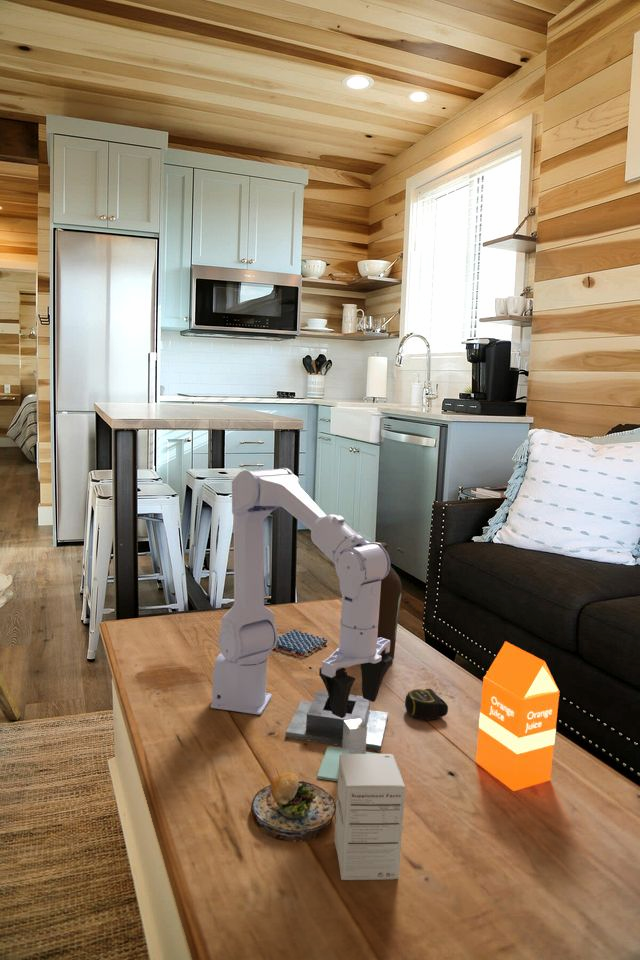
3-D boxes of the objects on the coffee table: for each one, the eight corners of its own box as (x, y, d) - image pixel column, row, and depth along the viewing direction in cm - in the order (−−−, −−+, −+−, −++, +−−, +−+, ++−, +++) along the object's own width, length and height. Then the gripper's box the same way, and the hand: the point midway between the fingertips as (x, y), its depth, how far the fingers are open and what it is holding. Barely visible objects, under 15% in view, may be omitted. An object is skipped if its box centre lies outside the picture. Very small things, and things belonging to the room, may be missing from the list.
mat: (317, 778, 107) (317, 775, 107) (327, 748, 116) (327, 746, 116) (376, 787, 105) (376, 784, 105) (382, 756, 114) (382, 754, 114)
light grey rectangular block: (347, 771, 108) (350, 729, 107) (341, 762, 111) (343, 720, 110) (364, 769, 109) (367, 727, 108) (357, 760, 112) (360, 718, 111)
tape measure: (448, 721, 127) (450, 702, 127) (413, 725, 125) (415, 705, 125) (431, 704, 134) (433, 685, 133) (398, 707, 132) (400, 688, 131)
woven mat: (264, 649, 157) (265, 640, 157) (292, 636, 166) (292, 628, 166) (303, 661, 152) (304, 652, 151) (329, 647, 161) (330, 638, 160)
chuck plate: (285, 737, 119) (286, 714, 118) (301, 705, 130) (302, 685, 130) (380, 751, 116) (381, 728, 115) (387, 717, 127) (389, 696, 127)
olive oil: (356, 664, 150) (363, 550, 147) (343, 645, 161) (350, 538, 157) (403, 662, 153) (411, 549, 149) (388, 643, 163) (395, 538, 159)
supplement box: (333, 842, 93) (338, 752, 91) (388, 841, 93) (395, 752, 91) (339, 882, 85) (345, 785, 84) (399, 881, 86) (406, 785, 84)
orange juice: (513, 791, 106) (525, 665, 103) (474, 762, 114) (485, 643, 111) (551, 780, 110) (564, 657, 107) (511, 752, 118) (522, 637, 115)
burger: (327, 850, 91) (330, 797, 90) (239, 835, 93) (241, 783, 92) (341, 797, 103) (344, 749, 102) (263, 785, 105) (265, 738, 104)
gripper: (350, 642, 99) (344, 732, 101) (408, 618, 110) (402, 701, 112) (312, 628, 104) (308, 715, 106) (372, 607, 115) (366, 686, 117)
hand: (354, 707), depth 109 cm, fingers open, 7 cm apart
